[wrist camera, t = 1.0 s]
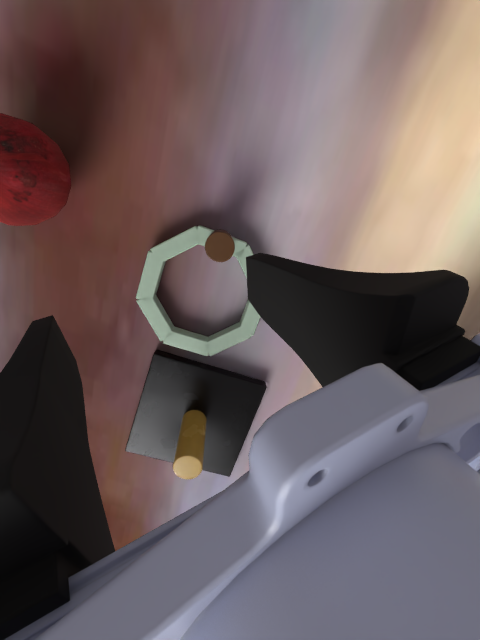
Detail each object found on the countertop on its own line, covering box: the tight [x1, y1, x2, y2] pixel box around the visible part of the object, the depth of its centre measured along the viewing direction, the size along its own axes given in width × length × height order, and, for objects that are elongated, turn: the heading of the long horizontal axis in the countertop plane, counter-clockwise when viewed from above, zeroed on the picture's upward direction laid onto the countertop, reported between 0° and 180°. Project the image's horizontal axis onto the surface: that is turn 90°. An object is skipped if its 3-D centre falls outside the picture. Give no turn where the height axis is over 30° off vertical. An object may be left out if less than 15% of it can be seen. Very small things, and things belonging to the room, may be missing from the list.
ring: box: [136, 225, 260, 356], centre depth 23 cm, size 10×9×5 cm
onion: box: [0, 113, 71, 226], centre depth 19 cm, size 6×6×8 cm
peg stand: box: [125, 350, 267, 479], centre depth 25 cm, size 10×10×6 cm
